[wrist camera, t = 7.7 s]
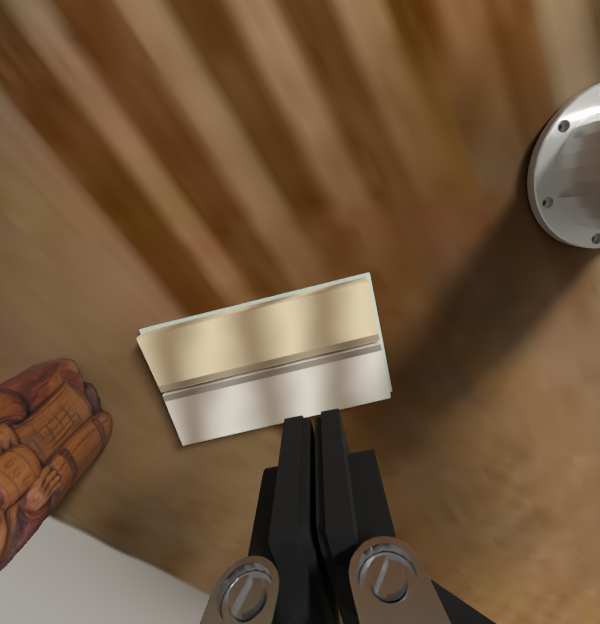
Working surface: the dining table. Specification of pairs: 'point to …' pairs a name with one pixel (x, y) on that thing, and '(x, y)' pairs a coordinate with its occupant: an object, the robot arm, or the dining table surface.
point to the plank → (261, 335)
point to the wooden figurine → (44, 445)
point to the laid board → (278, 393)
